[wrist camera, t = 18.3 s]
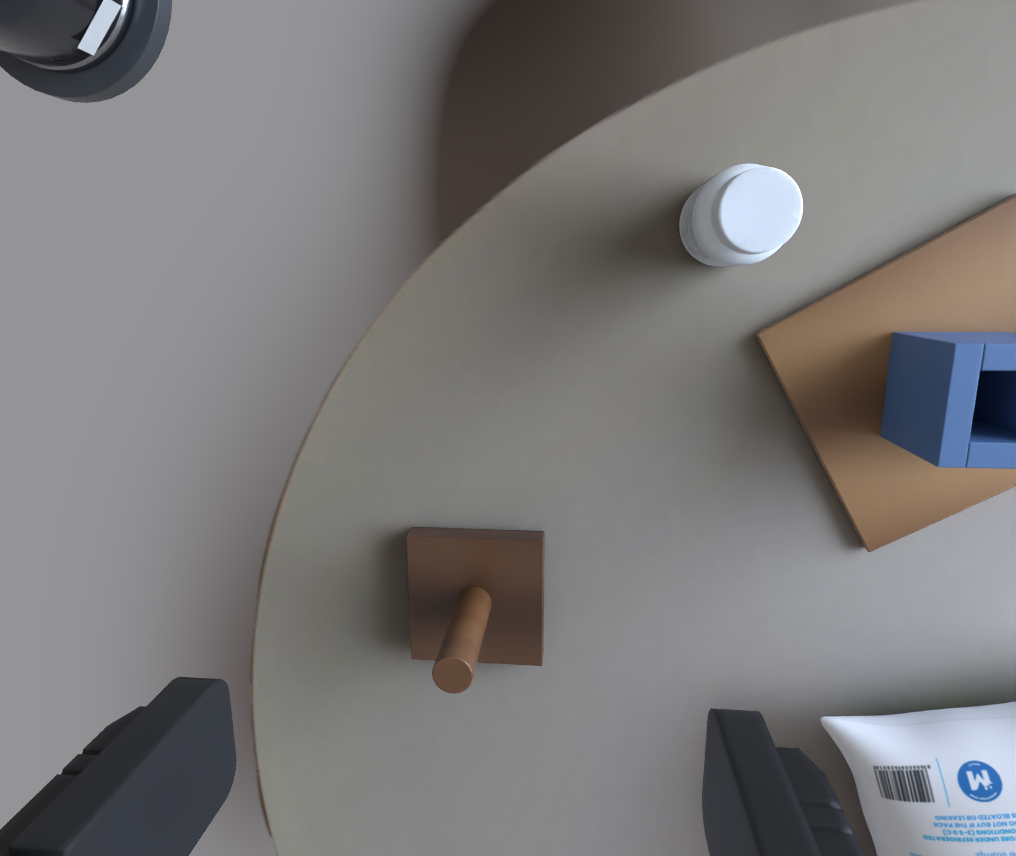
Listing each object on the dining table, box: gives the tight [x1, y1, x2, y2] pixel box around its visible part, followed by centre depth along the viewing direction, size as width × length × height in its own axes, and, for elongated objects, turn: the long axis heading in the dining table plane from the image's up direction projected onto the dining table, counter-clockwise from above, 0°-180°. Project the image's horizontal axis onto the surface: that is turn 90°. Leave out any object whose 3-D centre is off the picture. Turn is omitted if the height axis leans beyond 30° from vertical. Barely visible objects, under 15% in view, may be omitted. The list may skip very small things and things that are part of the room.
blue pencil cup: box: [880, 332, 1016, 469], centre depth 32 cm, size 6×6×6 cm
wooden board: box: [755, 194, 1016, 552], centre depth 36 cm, size 14×14×1 cm
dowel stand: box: [406, 527, 544, 693], centre depth 37 cm, size 8×8×9 cm
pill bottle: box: [679, 164, 803, 267], centre depth 31 cm, size 4×4×8 cm
